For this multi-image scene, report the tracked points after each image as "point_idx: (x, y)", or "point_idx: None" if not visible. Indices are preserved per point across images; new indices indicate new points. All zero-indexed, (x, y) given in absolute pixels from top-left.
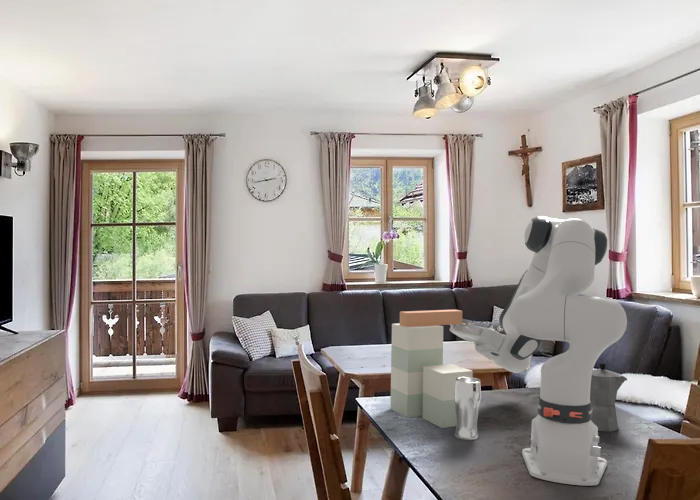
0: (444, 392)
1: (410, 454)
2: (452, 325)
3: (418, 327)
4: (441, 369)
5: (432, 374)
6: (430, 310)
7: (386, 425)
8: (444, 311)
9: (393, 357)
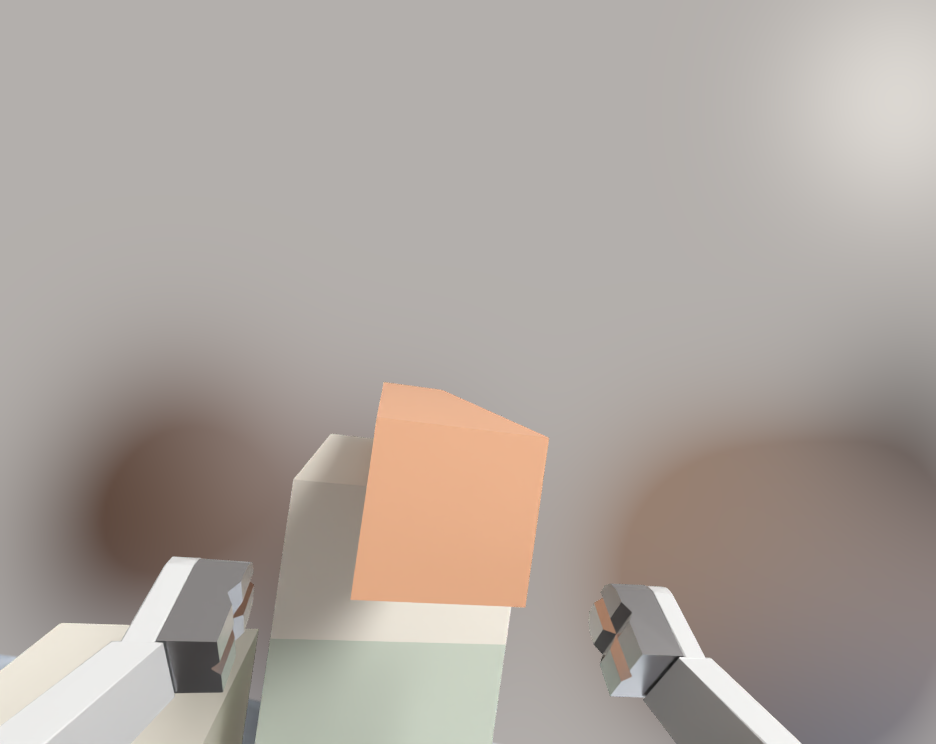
0: None
1: (7, 664)
2: (614, 687)
3: (331, 443)
4: None
5: None
6: (471, 403)
7: (251, 711)
8: (390, 397)
9: None
